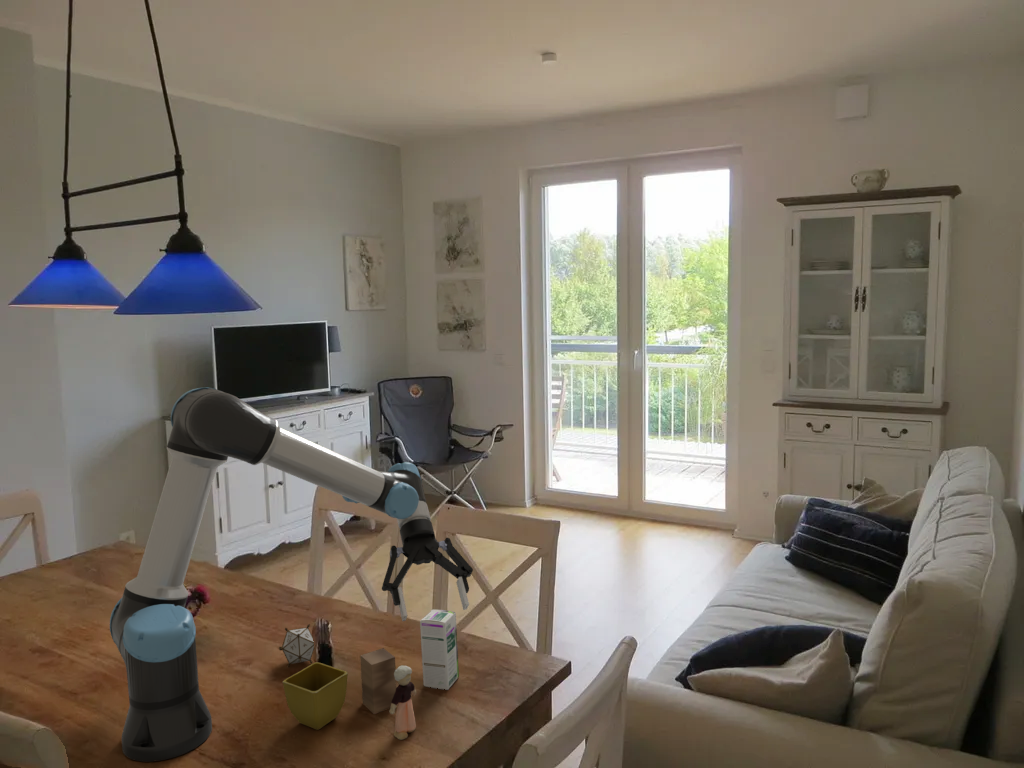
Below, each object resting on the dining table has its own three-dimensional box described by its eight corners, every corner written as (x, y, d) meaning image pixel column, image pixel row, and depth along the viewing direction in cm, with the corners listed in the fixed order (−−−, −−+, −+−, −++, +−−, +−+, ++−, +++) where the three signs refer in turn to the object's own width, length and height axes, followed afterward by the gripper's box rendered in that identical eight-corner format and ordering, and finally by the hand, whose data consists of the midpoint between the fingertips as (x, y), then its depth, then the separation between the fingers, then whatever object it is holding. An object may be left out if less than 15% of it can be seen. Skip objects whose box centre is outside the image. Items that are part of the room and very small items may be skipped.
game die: (305, 682, 168) (304, 659, 162) (270, 666, 169) (269, 643, 163) (326, 647, 175) (326, 624, 168) (293, 632, 176) (292, 609, 169)
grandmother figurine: (407, 744, 137) (404, 677, 136) (387, 741, 138) (384, 674, 137) (423, 721, 145) (421, 657, 143) (404, 718, 146) (402, 655, 144)
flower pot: (317, 739, 140) (314, 692, 139) (283, 726, 144) (281, 680, 143) (351, 716, 147) (348, 671, 146) (318, 704, 152) (316, 661, 151)
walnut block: (374, 714, 148) (371, 664, 147) (362, 703, 152) (360, 655, 151) (397, 705, 151) (395, 657, 149) (385, 695, 155) (383, 647, 153)
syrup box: (448, 690, 156) (446, 622, 154) (422, 686, 158) (419, 619, 156) (459, 677, 161) (457, 611, 159) (433, 673, 163) (431, 608, 161)
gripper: (463, 525, 183) (487, 609, 171) (359, 540, 174) (376, 630, 162) (470, 510, 178) (494, 595, 166) (362, 524, 169) (380, 616, 157)
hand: (436, 613), depth 164 cm, fingers open, 13 cm apart
